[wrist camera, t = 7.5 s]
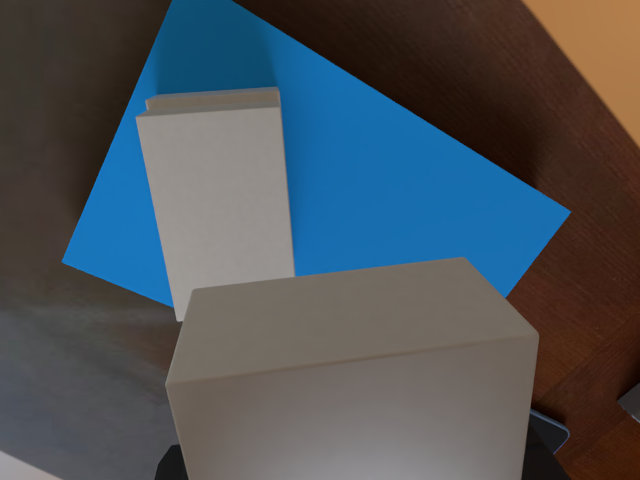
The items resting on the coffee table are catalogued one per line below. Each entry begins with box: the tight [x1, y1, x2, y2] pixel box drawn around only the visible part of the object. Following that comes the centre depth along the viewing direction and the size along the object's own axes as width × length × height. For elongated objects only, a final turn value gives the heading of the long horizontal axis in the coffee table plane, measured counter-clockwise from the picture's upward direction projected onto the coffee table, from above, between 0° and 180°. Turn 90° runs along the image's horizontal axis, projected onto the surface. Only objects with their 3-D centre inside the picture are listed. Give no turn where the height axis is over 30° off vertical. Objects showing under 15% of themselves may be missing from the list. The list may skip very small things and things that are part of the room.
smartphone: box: [529, 408, 569, 454], centre depth 41 cm, size 7×1×15 cm
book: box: [62, 0, 571, 308], centre depth 29 cm, size 17×4×25 cm
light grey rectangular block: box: [136, 87, 296, 321], centre depth 23 cm, size 10×6×5 cm, turn 3°
